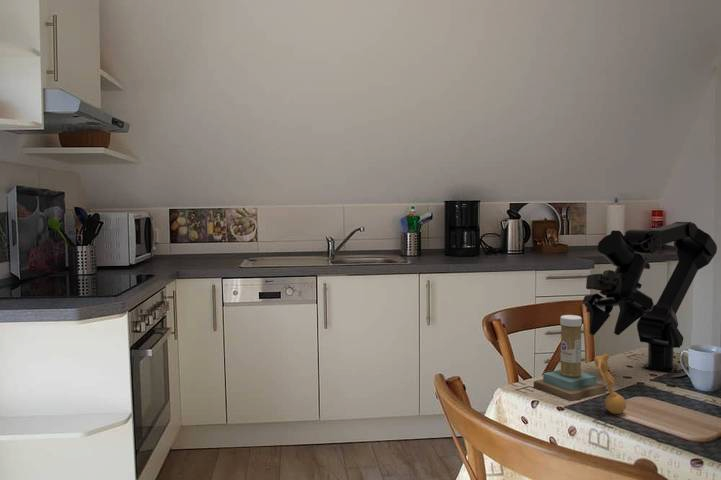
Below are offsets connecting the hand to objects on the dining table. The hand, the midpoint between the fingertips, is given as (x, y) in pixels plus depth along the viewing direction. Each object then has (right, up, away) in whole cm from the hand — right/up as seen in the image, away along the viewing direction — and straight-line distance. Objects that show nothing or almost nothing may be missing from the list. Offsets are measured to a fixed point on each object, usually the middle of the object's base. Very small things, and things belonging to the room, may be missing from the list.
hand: (603, 334), depth 137 cm
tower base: (-9, -12, -3) cm, 15 cm away
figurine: (-6, -13, -18) cm, 23 cm away
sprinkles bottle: (-9, -9, -4) cm, 13 cm away
